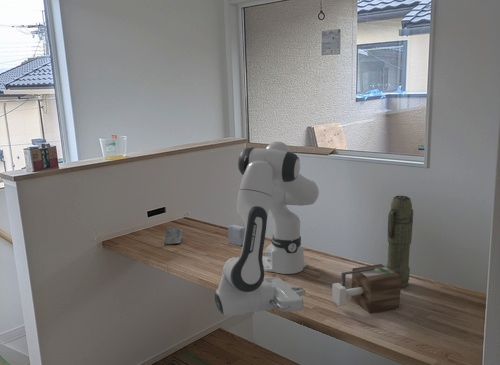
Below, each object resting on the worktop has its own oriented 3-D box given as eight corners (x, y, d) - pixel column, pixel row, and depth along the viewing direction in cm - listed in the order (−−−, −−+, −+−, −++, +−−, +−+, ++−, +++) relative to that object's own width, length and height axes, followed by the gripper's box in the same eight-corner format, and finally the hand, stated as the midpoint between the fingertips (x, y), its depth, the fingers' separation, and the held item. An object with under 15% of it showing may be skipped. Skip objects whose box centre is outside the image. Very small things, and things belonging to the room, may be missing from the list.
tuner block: (351, 299, 175) (352, 267, 173) (379, 294, 179) (381, 263, 177) (369, 313, 164) (371, 280, 162) (399, 308, 168) (401, 275, 166)
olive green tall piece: (415, 283, 189) (421, 196, 182) (397, 291, 182) (402, 201, 175) (396, 276, 196) (401, 192, 189) (378, 284, 188) (382, 197, 181)
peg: (332, 299, 168) (332, 271, 166) (371, 293, 173) (372, 265, 171) (339, 305, 164) (340, 276, 162) (379, 298, 169) (381, 270, 167)
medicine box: (245, 244, 236) (245, 227, 235) (239, 246, 233) (239, 229, 231) (234, 240, 242) (234, 224, 240) (228, 243, 238) (227, 226, 237)
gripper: (277, 300, 146) (318, 293, 150) (254, 276, 165) (291, 271, 169) (277, 319, 147) (317, 312, 151) (254, 293, 166) (291, 288, 170)
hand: (303, 290), depth 160 cm, fingers closed
